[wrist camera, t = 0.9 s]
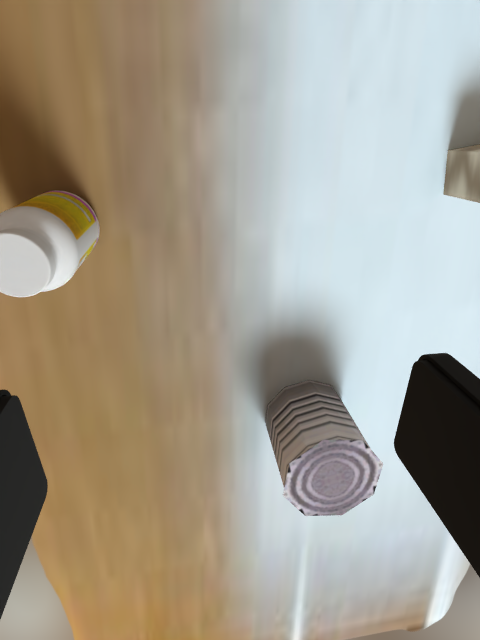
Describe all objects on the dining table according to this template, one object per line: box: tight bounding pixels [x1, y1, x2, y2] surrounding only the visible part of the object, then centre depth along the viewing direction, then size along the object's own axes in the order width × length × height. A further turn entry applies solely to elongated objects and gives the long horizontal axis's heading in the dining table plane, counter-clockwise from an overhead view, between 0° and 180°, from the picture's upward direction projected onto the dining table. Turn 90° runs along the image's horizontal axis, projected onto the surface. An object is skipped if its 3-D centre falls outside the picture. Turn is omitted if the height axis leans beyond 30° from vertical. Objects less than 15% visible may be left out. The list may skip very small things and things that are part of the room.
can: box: [266, 380, 383, 516], centre depth 47 cm, size 11×11×12 cm
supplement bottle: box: [0, 190, 99, 297], centre depth 31 cm, size 7×7×13 cm
